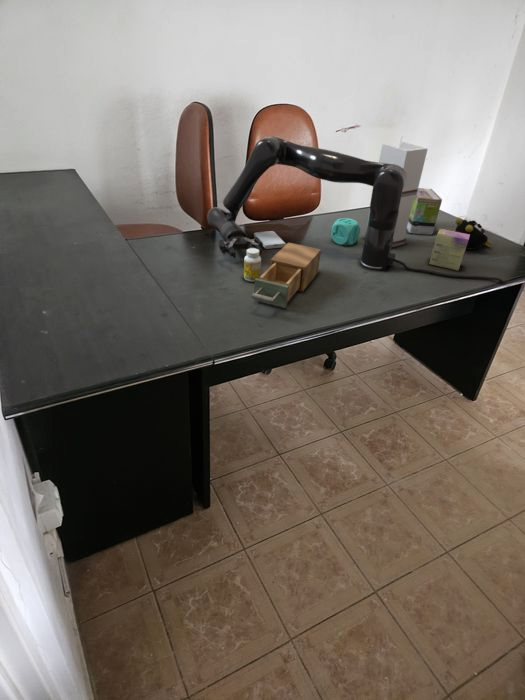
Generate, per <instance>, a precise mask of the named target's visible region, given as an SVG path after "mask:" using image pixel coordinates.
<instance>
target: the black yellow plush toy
mask: <svg viewBox="0 0 525 700" xmlns="http://www.w3.org/2000/svg"><path fill="white" fill-rule="evenodd" d="M455 224H456V225H457V226H456V227H455V230H454V231H455V232H460V233H465V234H470V237H469V240H468V243H467V246H466V250H475V249H479V248H481V247H483V246H484V245H486V246H487V247H489V248H491V247H492V246H493V243H492V242H491V241H489V237H488V236H487V235H486V231H485V229H484V228H483V226H482V225H481V224H480V223H477V221H476V220H473V219H472V220H469V221H468V220H466V219H463V218H461V217H458V218H457V219H456V220H455Z"/></svg>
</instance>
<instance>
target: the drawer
mask: <svg viewBox="0 0 525 700" xmlns="http://www.w3.org/2000/svg"><path fill="white" fill-rule="evenodd" d="M301 277H302V269H301V268H297V267H293V266H288V265H284V264H280V263H274V264H273V265H272V266H271V267H270V266H269V267H268V268H267V270H266V271H264V272H263V273H262V274H261V275H260V279H259V278H256V279H255V282H254V286H253V292H252V294H251V298H252V299H253V300H254V301H257V302H261V303H265V304H269V305H273V306H277V307H281V308H283V309H284V308H285V309H286V308H287V307H288V303H289V301H290V300H291V298H293V296H294V295H295V294H296V292H298V291H297V290H298V289H299V288H300V286H301Z"/></svg>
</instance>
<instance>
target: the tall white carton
mask: <svg viewBox="0 0 525 700" xmlns="http://www.w3.org/2000/svg"><path fill="white" fill-rule="evenodd" d="M427 154H428V148H427V147H423V146H419V145H417V144H413V143H409V142H405V141H400V145H399V147H397V146H393V145H390V144H387V143H382V144H381V149H380V154H379V160H378V162H379V163H387V164H395V165H398V166H400V167H402V168H403V169H404V170H405V172H406V175H407V182H406V184H405V186H404V188H403V191H402V196H401V200H400V205H399V214H398V218H397V222H396V227H395V231H394V236H393V239H394V240H393V244H392V248H394V247H395V248H396V247H398V246H402V245H406V241H407V238H406V233H407V225H408V221H409V216H410V212H411V208H412V204H413V199H415V198H416V195H417V191H418V188H420V187H419V186H420V182H421V178H422V173H423V170H424V165H425V161H426V157H427ZM369 214H370V211H369V212H368V215H369ZM368 219H369V217H368V218H367V220H368ZM367 225H368V222H367V223H366V226H367ZM366 230H367V227H366V229H365V231H366ZM365 235H366V233H365V234H364V236H365Z"/></svg>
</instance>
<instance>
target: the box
mask: <svg viewBox="0 0 525 700" xmlns="http://www.w3.org/2000/svg"><path fill="white" fill-rule="evenodd" d="M469 237H470V234H465V233H460V232H455V230H449V229H445V228H439V229H438V232H437V235H436V236H435V241H434V245H433V248H432V252H431V255H430V259H429V262H428V265H432V266H437V267H441V268H444V269H450V270H454V271H457V272H459V271H460V268H461V265H462V262H463V258H464V256H465V252H466V250H467V249H466V246H467V243H468V240H469Z"/></svg>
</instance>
